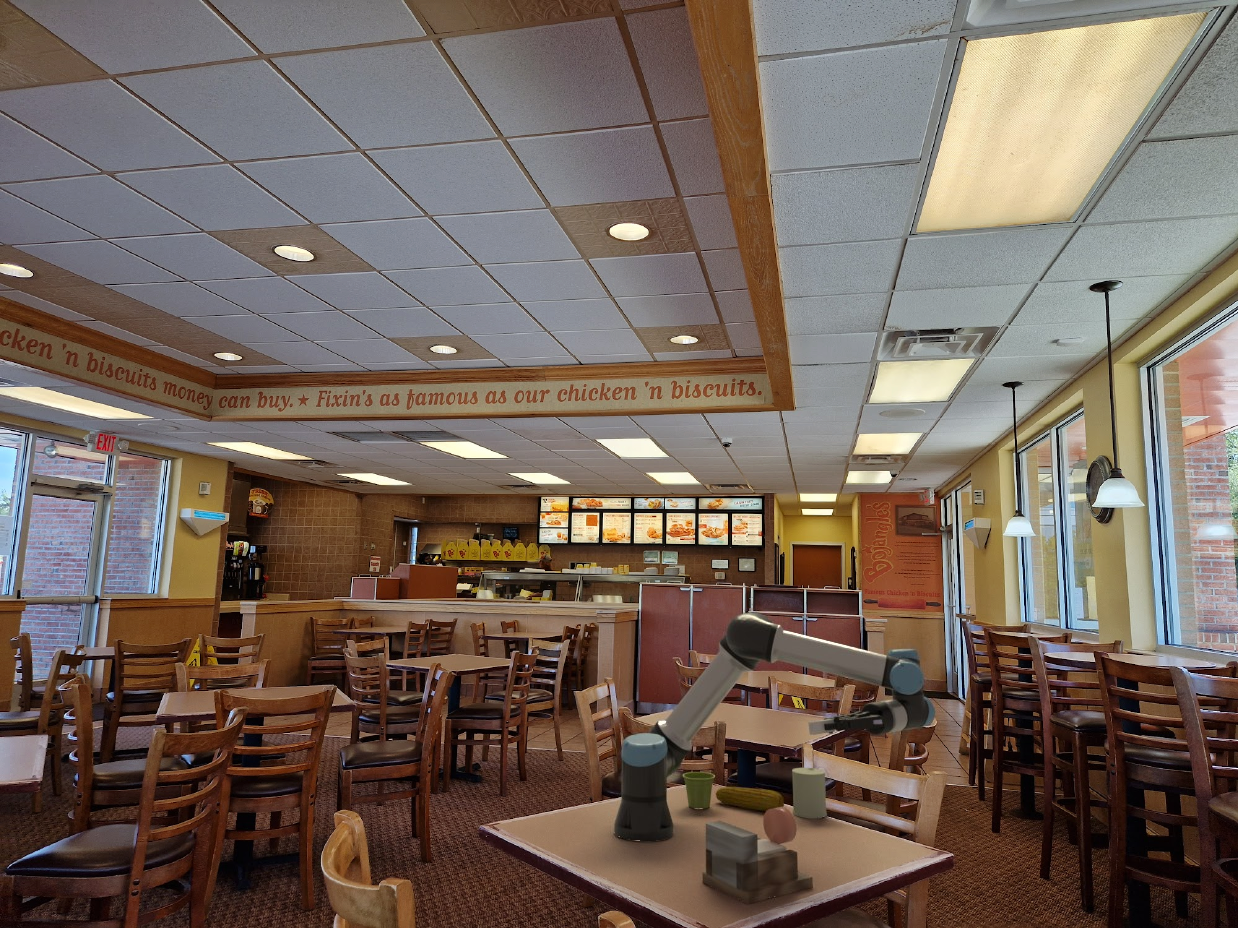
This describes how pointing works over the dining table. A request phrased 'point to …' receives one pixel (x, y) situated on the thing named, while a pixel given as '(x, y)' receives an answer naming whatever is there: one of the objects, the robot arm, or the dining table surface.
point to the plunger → (777, 830)
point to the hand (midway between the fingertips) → (811, 728)
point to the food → (750, 798)
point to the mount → (749, 866)
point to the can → (809, 793)
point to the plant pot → (699, 788)
